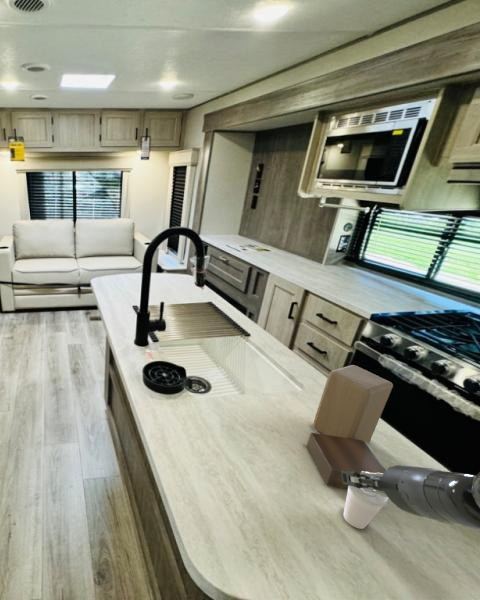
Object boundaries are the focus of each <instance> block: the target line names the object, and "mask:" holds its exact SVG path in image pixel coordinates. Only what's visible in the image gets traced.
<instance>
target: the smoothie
mask: <svg viewBox="0 0 480 600" xmlns="http://www.w3.org/2000/svg"><path fill="white" fill-rule="evenodd" d="M371 477H372V476H371ZM373 477H375V476H373ZM377 491H378V490H377ZM382 492H383V491H382ZM389 500H390V499H389V498H388V497H384V496H381V495H380V494H377V493H372V492H367V491H365V490H364V489H363V488H360V489H359V488H357V487H354V486H348V489H347V493H346V498H345V504H344V509H343V518H344V520H345V521H346V522H347V523H348V524H349V525H350V526H352V527H354V528H356V529H359V530H362V529H365V528H366V527H367V525H368V524H369V523H370V522H371V521H372V520H373V519H374V517H375V516H376V515H377V514H378V513H379V511H380V510H381V509H383V508H385V507H386V506H387V505H388V504H389Z"/></svg>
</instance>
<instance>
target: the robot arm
mask: <svg viewBox="0 0 480 600" xmlns="http://www.w3.org/2000/svg"><path fill="white" fill-rule="evenodd" d="M341 472H342V473H343V474H342V473H341V474H342V481H344V482H343V484H345V485H346V486H354V487H357V488H359V489H360V488H363V489H364V490H365V491H367V492H372V493H377V494H380V495H381V496H384V497H388V498H389V500H390V501H391V503H393V504H394V505H395V507H397V508H398V509H400V510H402V511H403V512H405V513H408V514H409V515H410V514H411V515H414V516H418V517H421V518H425V519H428V520H432V521H435V522H440V523H442V524H447V525H456V526H460V527H464V528H468V529H472V530H474V531H480V471H479V472H478V473H477V474H470V473H465V472H464V473H463V472H454V471H445V470H442V469H437V468H431V467H424V466H422V467H421V466H412V465H404V464H403V465H402V464H397V465H393V466H390V467H388V468H387V469H385V473H376V474H375V473H369V472H361V473H360V474H359V473H358V472H347V471H345V470H343V471H341ZM371 476H372V477H371ZM373 476H376V477H373ZM379 477H381V478H379ZM377 490H378V491H377ZM382 491H383V492H382Z"/></svg>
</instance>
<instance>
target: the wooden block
mask: <svg viewBox="0 0 480 600" xmlns="http://www.w3.org/2000/svg"><path fill="white" fill-rule="evenodd" d="M393 388H394V384H393V383H392V382H391V381H389V380H387V379H385V378H383V377H380V376H379V375H376V374H374V373H373V372H370V371H368V370H367V369H364V368H362V367H359V366H358V365H355V364H351V365H347V366H344V367H340V368H337V369H333V370H331V371H330V372H328V375H327V379H326V382H325V386H324V389H323V391H322V394H321V398H320V401H319V404H318V407H317V410H316V414H315V416H314V420H313V423H312V427H313V428H314V429H315V430H317V431H318V432H319V433H320V434H323V435H330V436H337V437H343V438H350V439H356V440H363V441H364V442H365V444H367V443H370V442H371V439H372V437H373V435H374V433H375V430H376V428H377V425H378V422H380V418H381V417H382V413H383V411H384V409H385V406H386V405H387V404H386V403H387V402H388V399H389V397H390V394H391V392H392V389H393Z"/></svg>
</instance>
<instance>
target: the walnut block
mask: <svg viewBox="0 0 480 600" xmlns="http://www.w3.org/2000/svg"><path fill="white" fill-rule="evenodd" d="M306 443H307V444H306V449H307V451H308V452H309V454H310V456H311V458H312V460H313V462H314V464H315V466H316V468H317V470H318V471H319V473H320V475H321V477H322V479H323V481H324V482H325V485H326V486H330V487H336V488H340V489H347V490H348V486H346V485H345V484H343V482H344V481H342V474H343V473H342V472H341V471H343V470H345V471H347V472H358V473H359V474H360V473H361V472H369V473H375V474H376V473H385V471H386V469H385V468H384V467H383V465H382V464H381V463H380V461H379V460H378V459H377V457H376V455H374V453H373V452H372V450H371V449H370V448H369V446H368V445H367V443H365V442H364V441H363V440H356V439H350V438H343V437H337V436H330V435H324V434H322V433H316V432H310V434H309V437H308V440H307V442H306ZM341 473H342V474H341ZM375 477H376V476H375ZM379 478H381V477H379Z"/></svg>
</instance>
